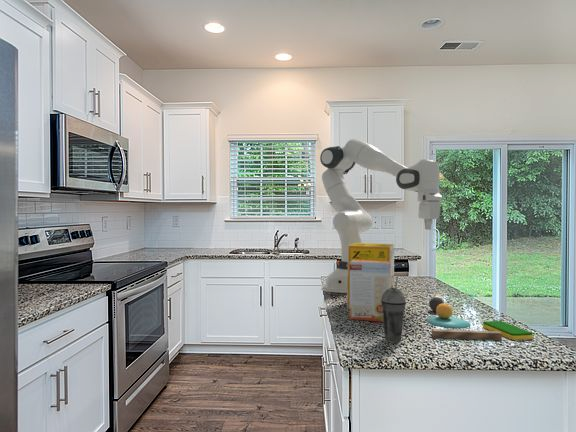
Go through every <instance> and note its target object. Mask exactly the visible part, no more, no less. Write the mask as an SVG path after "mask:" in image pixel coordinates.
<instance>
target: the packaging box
mask: <svg viewBox="0 0 576 432" xmlns="http://www.w3.org/2000/svg"><path fill="white" fill-rule="evenodd" d="M352 260H370V261H390V262H391V288H395V283H394V282H395V244H393V243H371V242H370V243H369V242H367V243H366V242H362V243H354V244H351V245H348V281H347V293H346V296H347V297H346V298H347V299H346V302H347V303H346V305H347V306H346V308H347V309H350V261H352Z"/></svg>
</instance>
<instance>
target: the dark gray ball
mask: <svg viewBox="0 0 576 432" xmlns="http://www.w3.org/2000/svg"><path fill="white" fill-rule="evenodd" d="M442 303H445V302H444V300H443V299H442V298H441V297H438V296H434V297H432V298H431V299H430V300H429V302H428V305H429V308H430V310H431V311H434V312H436V308H437V306H438V305H439V304H442Z"/></svg>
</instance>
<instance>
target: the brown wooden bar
mask: <svg viewBox="0 0 576 432" xmlns="http://www.w3.org/2000/svg"><path fill="white" fill-rule="evenodd" d="M431 336H432V337H433V338H436V339H437V338H439V339H463V340H465V339H467V340H490V341H491V340H492V341H494V340H496V341H503V340H502V337H503V336H502V333H500V332H499V331H490V330H469V329H468V330H467V329H466V330H465V329H463V330H462V329H439V328H438V329H437V328H435V329H434V328H431Z"/></svg>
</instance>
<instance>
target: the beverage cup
mask: <svg viewBox="0 0 576 432" xmlns="http://www.w3.org/2000/svg"><path fill="white" fill-rule="evenodd" d="M395 277H396V278H395V283H394V288H390V289H387V290H386V291H385V292H384V293H383V295H382V300H381V302H382V308H383V320H384V322H383V331H384V332H383V334H384V340H385V341H386V342H389V343H392V344H393V343H395V344H397V343H401V342H402V341H401V340H402V335H403V326H404V325H403V324H404V316H405V315H404V314H405V309H406V304H407V301H406V296H405V295H404V292H402V291H401V290H400V289H399V288H398V287H397V286H398V279H399V273H396V276H395Z"/></svg>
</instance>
